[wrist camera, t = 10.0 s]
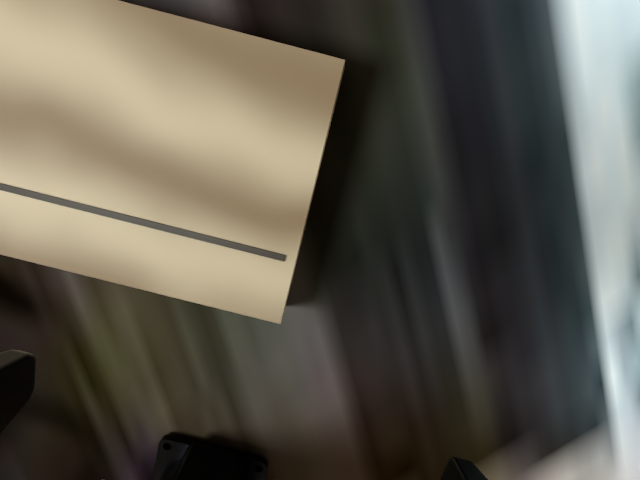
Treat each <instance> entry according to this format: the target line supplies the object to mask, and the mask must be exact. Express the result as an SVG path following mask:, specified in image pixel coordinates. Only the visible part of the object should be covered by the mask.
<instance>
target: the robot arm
mask: <svg viewBox="0 0 640 480" xmlns="http://www.w3.org/2000/svg"><path fill="white" fill-rule="evenodd" d="M35 365H36V358H35V356H34V355H33V354H31V353H28V352H24V351H20V350H9V351H5V352H2V353H0V433H1V432H2V431H3V430H4V429H5V427H6V426H7V425H8V424H9V422H10V421H11V420H12V419H13V418H14V416H15V415H16V414H17V413H18V411H19V410H20V409H21V408H22V407H23V405H24V404H25V403H26V402H27V401H28V399H29V398H30V396H31V394H32V392H33V389H34V383H35ZM167 443H168V444H170V445H168V444H167ZM257 465H260V466H262V467H259V466H257ZM267 469H268V461H267V459H265V458H264V457H261V456H257V455H253V454H249V453H245V452H240V451H236V450H232V449H228V448H224V447H220V446H216V445H211V444H207V443H203V442H199V441H195V440H191V439H187V438H183V437H178V436H174V435H165V436H163V438H162V439H161V441H160V443H159V446H158V452H157V458H156V464H155V470H154V476H153V480H265V477H266V473H267ZM440 480H488V479H487V478H486V477H485V476H484V475H483V474H482V473H481V472H480V471H479V470H478V468H477V467H476V466H475V465H474V464H473V463H472V462H470V461H468V460H464V459H460V458H456V457H452V458H450V459H449V461H448V462H447V465H446V467H445V469H444V472H443V474H442V476H441V479H440Z"/></svg>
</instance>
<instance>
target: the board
mask: <svg viewBox="0 0 640 480" xmlns="http://www.w3.org/2000/svg"><path fill="white" fill-rule="evenodd" d="M344 67H345V60H343V59H340V58H336V57H332V56H328V55H324V54H321V53H317V52H313V51H309V50H305V49H302V48H298V47H294V46H290V45H286V44H283V43H279V42H275V41H271V40H267V39H264V38H260V37H256V36H252V35H248V34H245V33H241V32H237V31H233V30H229V29H226V28H222V27H218V26H214V25H210V24H207V23H203V22H199V21H195V20H191V19H188V18H184V17H180V16H176V15H172V14H169V13H165V12H161V11H157V10H153V9H150V8H146V7H142V6H138V5H134V4H131V3H127V2H123V1H119V0H0V254H1V255H5V256H9V257H13V258H17V259H21V260H25V261H29V262H33V263H37V264H41V265H45V266H49V267H53V268H57V269H61V270H65V271H69V272H73V273H77V274H81V275H85V276H89V277H94V278H98V279H102V280H106V281H110V282H114V283H118V284H122V285H126V286H130V287H134V288H138V289H142V290H146V291H150V292H154V293H158V294H162V295H166V296H170V297H174V298H178V299H182V300H186V301H190V302H194V303H198V304H202V305H206V306H210V307H214V308H218V309H222V310H226V311H230V312H234V313H238V314H242V315H246V316H250V317H254V318H258V319H262V320H266V321H270V322H274V323H278V324H280V323H281V320H282V317H283V314H284V311H285V307H286V304H287V299H288V295H289V291H290V287H291V283H292V279H293V275H294V271H295V267H296V263H297V259H298V255H299V251H300V247H301V243H302V239H303V234H304V230H305V226H306V222H307V218H308V214H309V210H310V206H311V202H312V198H313V194H314V190H315V186H316V182H317V178H318V174H319V169H320V165H321V161H322V157H323V153H324V149H325V145H326V141H327V137H328V133H329V129H330V125H331V121H332V117H333V113H334V108H335V104H336V100H337V96H338V92H339V88H340V84H341V80H342V76H343V72H344Z"/></svg>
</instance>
